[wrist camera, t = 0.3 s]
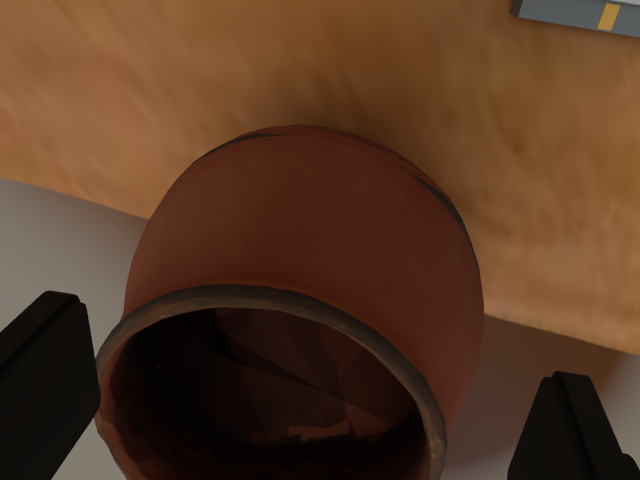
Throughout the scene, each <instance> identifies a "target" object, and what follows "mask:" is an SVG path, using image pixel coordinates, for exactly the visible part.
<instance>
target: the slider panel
mask: <svg viewBox="0 0 640 480" xmlns="http://www.w3.org/2000/svg"><path fill="white" fill-rule="evenodd" d="M510 13H512V14H513V15H515V16H517V17H520V18H526V19H532V20H538V21H544V22H550V23H556V24H562V25H568V26H574V27H580V28H586V29H592V30H598V31H604V32H610V33H616V34H622V35H628V36H634V37H640V0H513V4H512V7H511V10H510Z"/></svg>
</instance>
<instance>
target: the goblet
mask: <svg viewBox="0 0 640 480" xmlns="http://www.w3.org/2000/svg"><path fill="white" fill-rule="evenodd" d="M483 316H484V301H483V294H482V286H481V279H480V271H479V266H478V263H477V259H476V256H475V253H474V250H473V247H472V243H471V241H470V238H469V235H468V233H467V230H466V228H465V225H464V222H463V220H462V218H461V217H460V215H459V213H458V211H457V210H456V208H455V206H454V205H453V203H452V202H451V200H450V199H449V197H448V196H447V195H446V194H445V193H444V192H443V191H442V190H441V189H440V188H439V187H438V185H437V184H436V183H435V182H434V181H433V180H432V179H431V178H430V177H428V176H427V175H426V174H425V173H424V172H422V171H421V170H420V169H419V168H418V167H416V166H415V165H414V164H413V163H411V162H410V161H408V160H407V159H405V158H404V157H402V156H401V155H399V154H397V153H396V152H394V151H393V150H391V149H389V148H387V147H385V146H382V145H380V144H378V143H376V142H373V141H371V140H369V139H366V138H363V137H361V136H358V135H355V134H353V133H349V132H344V131H339V130H335V129H330V128H325V127H320V126H315V125H289V126H276V127H268V128H264V129H260V130H256V131H253V132H249V133H246V134H242V135H240V136H239V137H237V138H235V139H233V140H231V141H229V142H227V143H225V144H223V145H221V146H219V147H217V148H215V149H213V150H211V151H209V152H208V153H206V154H205V155H203V156H202V157H200V158H199V159H197V160H196V161H194V162H193V163H192V164H191V165H190V166H189V167H188V168H187V169H186V171H185V172H184V173H183V174H182V175H181V176H180V177H179V178H178V179H177V180H176V181H175V182H174V184H173V185H172V186H171V188H170V189H169V190H168V191H167V193H166V195H165V196H164V198H163V199H162V201H161V202H160V204H159V205H158V207H157V209H156V210H155V212H154V213H153V215H152V216H151V218H150V220H149V221H148V223H147V225H146V228H145V230H144V232H143V235H142V237H141V240H140V242H139V244H138V247H137V250H136V252H135V254H134V257H133V260H132V264H131V269H130V272H129V276H128V280H127V286H126V293H125V302H124V312H123V315H122V317H121V320H120V323H119V324H118V325H117V326H116V327H115V328H114V329H113V330H112V331H111V333H110V334H109V336H108V337H107V339H106V340H105V342H104V343H103V345H102V346H101V348H100V350H99V352H98V354H97V357H96V359H95V362H96V368H97V374H98V380H99V386H100V392H101V403H100V406H99V409H98V411H97V413H96V415H95V416H94V420H95V424H96V427H97V431H98V433H99V435H100V436H101V437H102V439H103V440H104V442H105V443H106V445H107V446H108V448H109V449H110V452H111V454H112V456H113V459H114V461H115V462H116V464H117V465H118V466H119V468H120V470H121V471H122V473H123V474H124V475H125V477H126V478H127V480H439V478H440V476H441V474H442V471H443V468H444V462H445V455H446V449H447V438H448V436H449V434H450V432H451V429H452V427H453V425H454V423H455V421H456V419H457V416H458V414H459V412H460V410H461V408H462V405H463V403H464V401H465V399H466V397H467V395H468V392H469V389H470V386H471V383H472V380H473V377H474V374H475V371H476V369H477V365H478V359H479V354H480V348H481V342H482V335H483V324H484V317H483Z"/></svg>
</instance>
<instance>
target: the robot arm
mask: <svg viewBox="0 0 640 480" xmlns="http://www.w3.org/2000/svg"><path fill="white" fill-rule="evenodd" d="M100 403H101V392H100V386H99V380H98V374H97V368H96V362H95V357H94V350H93V344H92V338H91V332H90V326H89V320H88V314H87V308H86V305H85V304H84V303H81V302H80V300H79V298H78V296H77V295H74V294H69V293H63V292H56V291H46V292H44V293H43V294H41V295H40V296H39V297H38V298H37V299H36V300H35V301H34V302H33V303H32V304H31V305H29V306H28V307H27V308H26V309H25V310H24V311H23V312H22V313H21V314H20V315H19V316H17V317H16V318H15V319H14V320H13V321H12V322H11V323H10V324H9V325H8V326H7V327H5V328H4V329H3V330H2V331H1V332H0V480H51V479H52V477H53V476H54V474H55V473H56V472H57V470H58V469H59V467H60V466H61V464H62V463H63V461H64V460H65V458H66V457H67V455H68V454H69V453H70V451H71V450H72V448H73V447H74V445H75V444H76V442H77V441H78V439H79V438H80V436H81V435H82V434H83V432H84V431H85V429H86V428H87V426H88V425H89V423H90V422H91V421H92V419H93V418H94V416H95V415H96V413H97V411H98V409H99V406H100ZM507 480H640V470H639V468H638V466H637V464H636V463H635V461H634V459H633V458H632V457H631V456H629V455H628V454H624V453H622V451H621V449H620V446H619V445H618V441H617V439H616V437H615V435H614V432H613V430H612V427H611V425H610V423H609V420H608V418H607V416H606V413H605V411H604V409H603V406H602V404H601V402H600V399H599V397H598V395H597V392H596V390H595V387H594V385H593V383H592V381H591V379H590V377H588V376H586V375H580V374H574V373H568V372H561V371H555V372H554V373H553V375H552V377H551V378H550V377H544V378H543V379H542V381H541V383H540V386H539V388H538V391H537V394H536V396H535V399H534V402H533V405H532V408H531V410H530V413H529V415H528V418H527V421H526V423H525V426H524V429H523V431H522V434H521V437H520V439H519V442H518V445H517V447H516V450H515V453H514V455H513V458H512V461H511V463H510V466H509V469H508V475H507Z"/></svg>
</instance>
